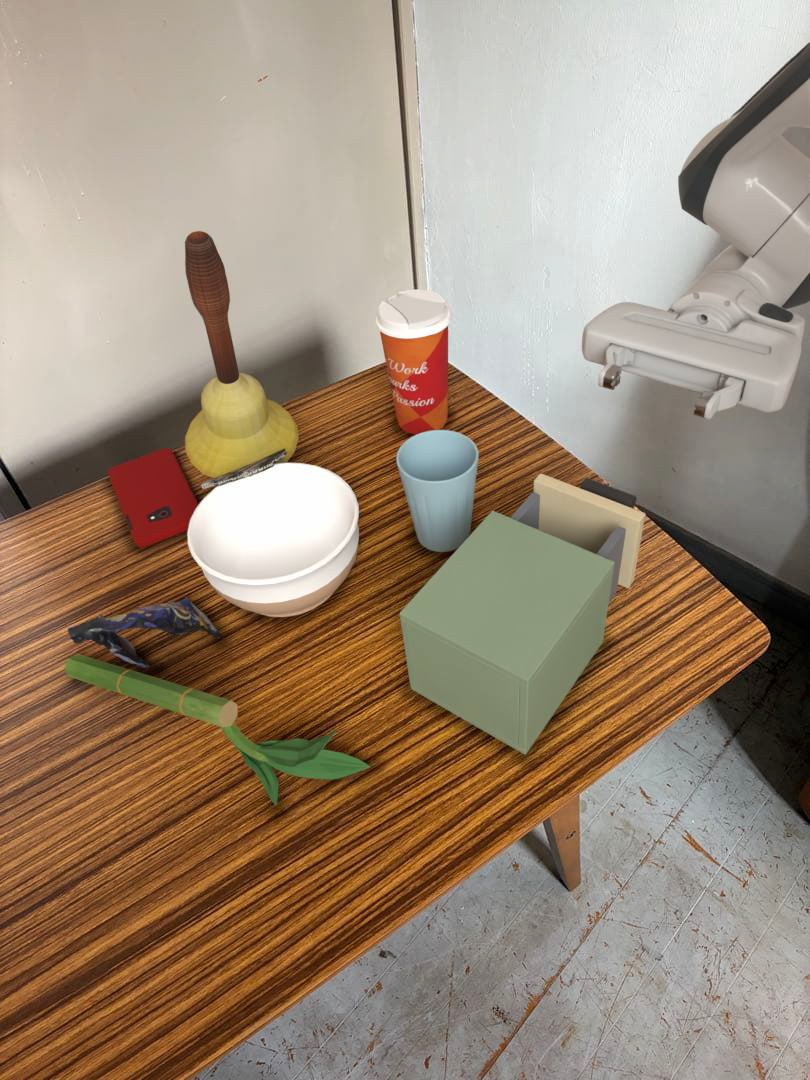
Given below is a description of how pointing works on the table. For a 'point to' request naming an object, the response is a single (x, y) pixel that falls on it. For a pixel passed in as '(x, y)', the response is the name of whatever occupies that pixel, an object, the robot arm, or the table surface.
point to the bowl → (277, 538)
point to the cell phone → (153, 496)
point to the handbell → (228, 381)
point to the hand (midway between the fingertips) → (652, 396)
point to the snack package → (160, 616)
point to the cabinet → (507, 628)
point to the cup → (439, 486)
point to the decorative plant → (221, 724)
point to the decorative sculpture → (246, 470)
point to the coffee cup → (416, 357)
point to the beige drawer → (588, 521)
